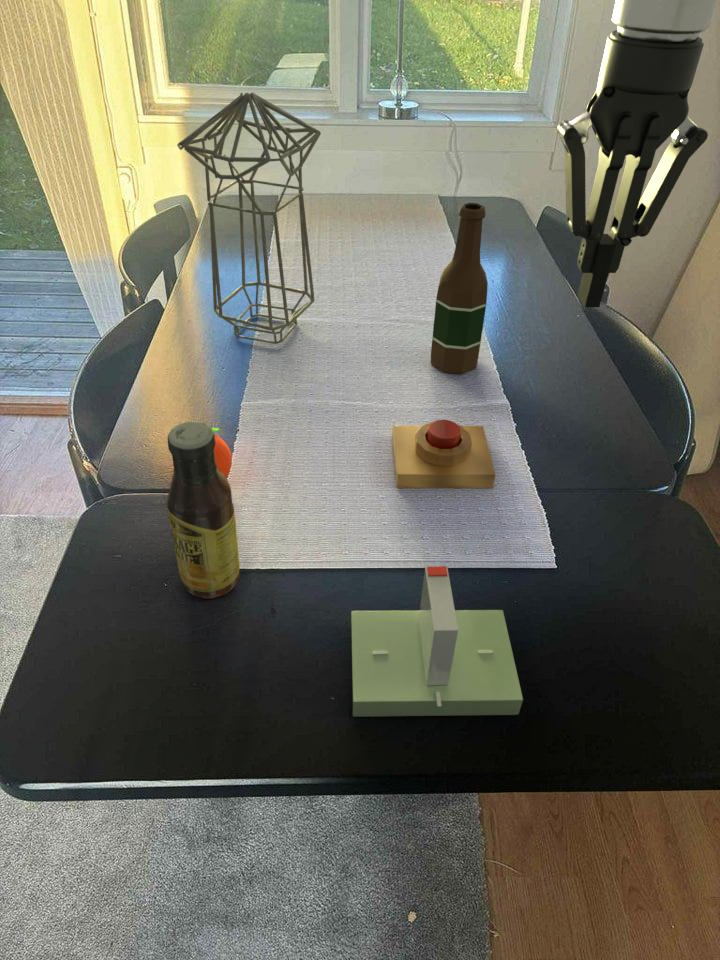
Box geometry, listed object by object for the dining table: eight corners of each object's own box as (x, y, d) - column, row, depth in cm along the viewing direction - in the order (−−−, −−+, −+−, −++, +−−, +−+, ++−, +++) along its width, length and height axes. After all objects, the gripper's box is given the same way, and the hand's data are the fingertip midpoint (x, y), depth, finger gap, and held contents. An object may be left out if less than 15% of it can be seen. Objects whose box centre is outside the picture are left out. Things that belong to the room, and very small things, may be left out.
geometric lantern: (328, 319, 118) (326, 87, 95) (287, 364, 107) (274, 114, 84) (245, 301, 123) (224, 75, 100) (198, 343, 111) (162, 99, 88)
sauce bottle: (171, 576, 75) (136, 426, 62) (221, 549, 78) (199, 401, 65) (202, 614, 71) (172, 463, 58) (254, 585, 74) (237, 435, 61)
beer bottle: (465, 381, 105) (488, 221, 89) (419, 365, 108) (433, 208, 92) (486, 358, 110) (511, 203, 94) (442, 344, 113) (459, 192, 97)
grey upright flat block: (448, 685, 62) (458, 628, 57) (426, 685, 62) (434, 628, 57) (438, 621, 68) (447, 564, 62) (418, 622, 68) (425, 564, 62)
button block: (480, 438, 94) (484, 414, 92) (493, 487, 87) (498, 463, 84) (391, 438, 94) (393, 414, 91) (396, 488, 86) (398, 463, 84)
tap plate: (498, 620, 71) (502, 603, 69) (519, 721, 63) (525, 705, 61) (350, 621, 71) (351, 604, 69) (352, 723, 62) (353, 707, 60)
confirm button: (456, 430, 89) (458, 419, 88) (461, 450, 86) (462, 438, 85) (425, 430, 89) (426, 419, 88) (428, 450, 86) (430, 438, 85)
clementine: (206, 453, 90) (199, 408, 86) (250, 470, 88) (245, 425, 83) (165, 489, 85) (155, 442, 80) (211, 508, 83) (203, 462, 78)
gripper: (717, 25, 60) (639, 285, 75) (566, 22, 59) (518, 284, 75) (757, 41, 54) (663, 319, 69) (590, 38, 53) (533, 318, 69)
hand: (588, 300), depth 72 cm, fingers closed
